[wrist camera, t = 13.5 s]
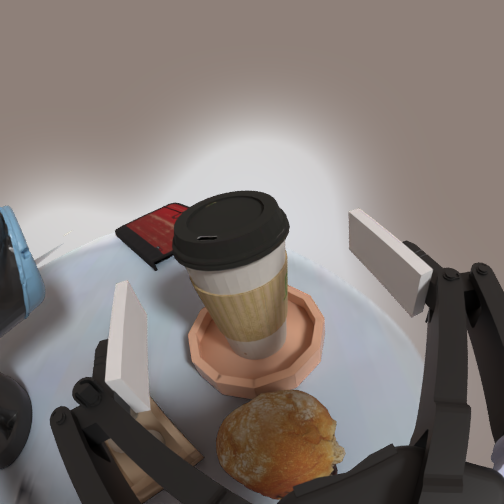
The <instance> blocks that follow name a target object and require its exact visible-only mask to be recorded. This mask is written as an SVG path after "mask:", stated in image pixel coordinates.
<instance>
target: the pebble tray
mask: <svg viewBox="0 0 504 504" xmlns="http://www.w3.org/2000/svg"><path fill="white" fill-rule="evenodd" d="M149 396H150V395H149ZM150 409H151V410H149V411H144V412H139V413H135V412H134V411H133V410H132V409H131V408H130V414H131V416H132V417H133V418H134V419H135V420H136V421H138V422H139V423H140V424H141V425H142V426H143V427H144V428H146V429H147V430H148V431H149V432H150V433H151V434H153V435H154V436H155V437H156V438H157V439H159V440H160V441H161V442H162V443H163V444H165V445H166V446H167V447H168V448H170V449H171V450H172V451H174V452H175V453H176V454H177V455H179V456H180V457H181V458H183V459H184V460H185V461H187V462H188V463H189V464H191V465H192V466H194V465H196V464H197V463H198V462H200V461H201V460H202V459H203V458H204V456H203V455H202V454H201V453H200V452H199V451H198V450H197V449H196V448H195V447H194V446H193V445H192V444H191V443H190V442H189V441H188V440H187V439H186V437H185V436H184V435H183V434H182V433H181V432H180V431H179V430H178V429H177V428H176V426H175V425H174V424H173V423H172V422H171V421H170V420H169V418H168V417H167V416H166V415H165V414H164V413H163V411H162V410H161V409H160V408H159V407H158V405H157V404H156V403H155V402H154V400H153V399H152V398H151V397H150ZM104 442H105V444H106V446H107V447H108V449H109V451H110V453H111V455H112V457H113V458H114V460H115V462H116V464H117V466H118V467H119V469H120V471H121V472H122V474H123V476H124V477H125V479H126V481H127V482H128V484H129V486H130V487H131V489H132V490H133V492H134V493H135V495H136V496H137V498H138V499H139V501H140V502H141V504H142V503H144V502H145V501H147V500H148V499H150V498H151V497H153V496H154V495H156V494H157V493H158V492H160V491H161V490H163V489H164V488H163V487H161V486H160V485H159V484H158V483H157V482H155V481H154V480H153V479H152V478H151V477H150V476H149V475H148V474H146V473H145V472H144V471H143V470H142V469H141V468H140V467H139V466H138V465H137V464H136V463H135V462H134V461H132V460H131V459H130V458H129V457H128V456H127V455H126V454H125V453H124V452H123V451H122V450H121V449H120V448H119V447H118V446H117V445H116V444H115V442H114V441H113V440H112V439H111V438H110V439H108V440H106V441H104Z"/></svg>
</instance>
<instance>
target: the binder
mask: <svg viewBox="0 0 504 504" xmlns="http://www.w3.org/2000/svg"><path fill="white" fill-rule="evenodd" d="M188 208H190V207H188V206H185V205H183V204H180V203H171V204H168V205H166V206H163V207H162V208H160V209H157V210H155V211H153V212H151V213H148V214H146V215H144V216H142V217H140V218H138V219H136V220H133V221H132V222H129V223H127V224H125V225H123V226H121V227H120V228H118V229H116V230H115V233H116V235H117V237H118V238H120V239H121V240H122V241H123V242H124V243H125V244H126V245H127V246H128V247H129V248H131V249H132V250H133V251H134V252H135V253H136V254H137V255H139V256H140V257H141V258H142V259H143V260H144V261H145V262H146V263H148V264H149V265H150V266H151V267H152V268H154V270H155V271H157V267H156V266H155V263H156V262H158V261H159V260H162V259H163V260H166V259H168V258H170V257H171V256H172V255H173V249H172V240H173V237H174V224H175V221H176V220H177V218H178V217H179V216H180V215H181V214H182V213H183V212H184V211H185V210H187V209H188ZM174 258H175V257H174Z"/></svg>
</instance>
